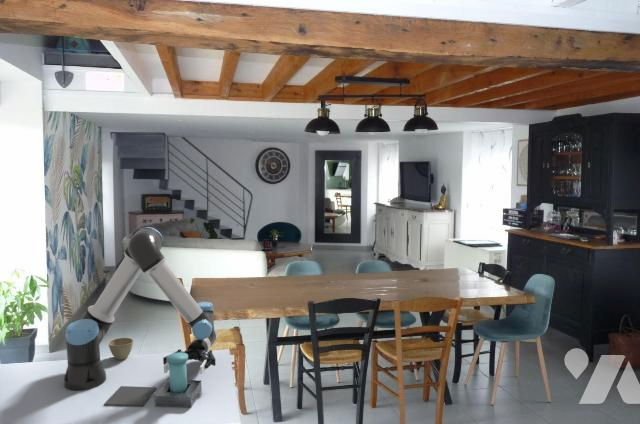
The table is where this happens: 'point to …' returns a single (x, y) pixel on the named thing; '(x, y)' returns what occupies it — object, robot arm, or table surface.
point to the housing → (178, 395)
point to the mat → (130, 396)
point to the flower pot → (121, 347)
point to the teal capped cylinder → (178, 372)
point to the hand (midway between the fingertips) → (183, 370)
